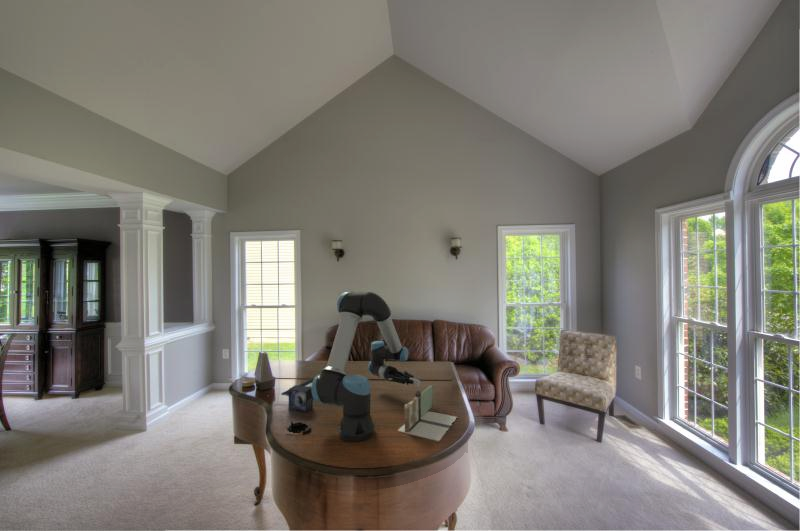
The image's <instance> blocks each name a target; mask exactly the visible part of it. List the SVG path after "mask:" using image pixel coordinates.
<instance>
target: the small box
mask: <svg viewBox="0 0 800 531" xmlns="http://www.w3.org/2000/svg"><path fill="white" fill-rule="evenodd" d="M299 385H300V384H295V385H293V386H291V387H289V389H288V390H289V396H288V410H290V411H295V410H296V411H297V412H302V411H303V413H307V412H309V411H310V410H311V409H313V408H314V405H313V400H314V399H313V396H312V391H311V387H307V386H299ZM296 411H295V412H296Z"/></svg>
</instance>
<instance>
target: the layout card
mask: <svg viewBox="0 0 800 531" xmlns="http://www.w3.org/2000/svg"><path fill="white" fill-rule="evenodd" d="M456 418H458V416H455V415H449V414H443V413H439V412H434V411H429V410H428V411H427V412H426V413H425V414H424V415H423V416H422V417H421V420H420V421H417V422H416V423H415V424H414V425H413V426H412V427H411V428H410V429H409V432H405V423H404V424H403V425H402V426H400V427H399V428H398V429H397V432H399V433H403V434H407V435H411V436H416V437H419V438H424V439H427V440H432V441H436V442H440V441H441V440H442V438H443V437H444V436H445V435H446V433H447V432H446V431H448V430H450V428H451V427H452V425H453V424H452V423H453V422H454V423H455V422H456V420H457V419H456ZM450 426H451V427H450Z"/></svg>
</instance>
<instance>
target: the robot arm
mask: <svg viewBox="0 0 800 531" xmlns="http://www.w3.org/2000/svg"><path fill="white" fill-rule="evenodd" d="M336 306H337V307H336V309H337V312H338V316H339V317H340V320H339V324H338V327H337V331H336V333H335V337H334V340H333V344H332V346H331V350H330V354H329V357H328V361H327V363H326V364H327V365H326V367H324V368H322V370H321V372H320V373H319V374H316V376H315V377H314V380H313V382H312V387H311V391H312V396H313V398H314V399H313V400H314V401H315V402H316V403H320V404H324V405H331V406H335V407H341V408H342V418H341V421H340V424H339V426H338V436H339V438H340V439H342V440H344V441H347V442H363V441H366V440H369V439H370V438H371V437H373V436H374V435H375V424H374V421H373V418H372V415H371V391H372V390H371V383H370V380H369V378H368V377H366V376H364V375H361V374H347V372H346V368H347V364H348V360H349V357H350V353H351V349H352V346H353V342H354V338H355V336H356V335H355V334H356V331H357V327H358V324H359V323H360V322H361V321H362V320H363V317H364V316H369V317H372V320H373V321H374V322H376V323H377V325H378V329H379V331H380V333H381V336H382V338H383V340H384V341H385V343H384V341H382V340H375V341H374V340H373V341H372V342H371V343H370V361H369V362H368V365H367V371H368V373H369V374H371V375H373V376H376V377H379V378H382V379H384V380H387V381H388V382H394V383H398V384H402V385H403V384H404V385H405V384H406V385H407V386H409V384H410V385H413V386H415V387H420V386H421V380H420V379H416V378H415V377H414V375H413V374H412V373H409V372H408V371H407V370H404V371H403V372H402V371H399V370H398V369H397V367H395V366H391V365H389V364H386V363H385V360H390V361H397V362H398V361H399V362H405V361H407V360H408V358H409V354H410V353H409V352H410V351H409V349H408V348H407V347H405V346H403V345H402V342H401V340H400V338H399V335H398V333H397V329H396V328H395V325H394V323H393V319H392V317H391V316H392V311H391V309H390V306H389V305H388V304H387V302H386V301H385V300H384V298H382V297H381V296H380V295H378V294H377V293H375V292H373V291H346V292H343V293H342V294H341V295H340V296H339V298H338V299H337V303H336Z"/></svg>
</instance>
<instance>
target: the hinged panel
mask: <svg viewBox="0 0 800 531" xmlns="http://www.w3.org/2000/svg"><path fill="white" fill-rule="evenodd" d="M433 388H434V385H432V384H431V385H428V386H427V387H426V388H424V389H423V391H420V392H421V396H420V416H421V417H422V416H423V415H424V414H425V413H426V412H427V411H429V410H430V409H431V408H432V407H434V389H433Z"/></svg>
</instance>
